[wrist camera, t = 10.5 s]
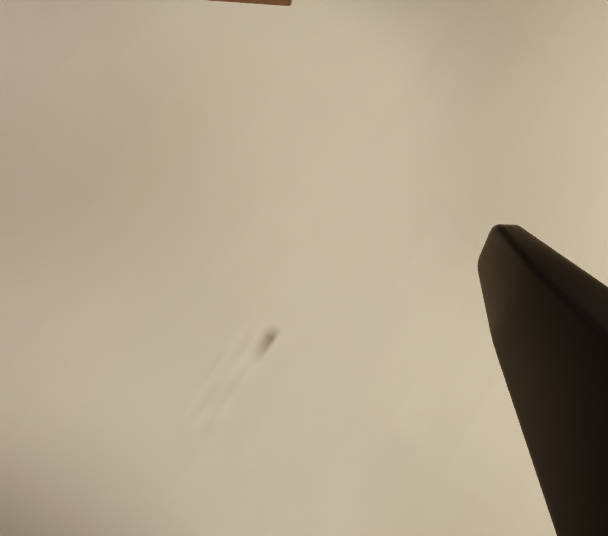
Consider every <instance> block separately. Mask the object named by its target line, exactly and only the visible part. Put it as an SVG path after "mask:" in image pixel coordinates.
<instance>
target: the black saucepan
mask: <svg viewBox="0 0 608 536" xmlns="http://www.w3.org/2000/svg"><path fill="white" fill-rule="evenodd" d="M210 1H225V2H239V3H254V4H268V5H283V6H290V5H291V3H292V0H210Z"/></svg>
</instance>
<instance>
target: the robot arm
mask: <svg viewBox="0 0 608 536" xmlns="http://www.w3.org/2000/svg"><path fill="white" fill-rule="evenodd" d="M478 273H479V278H480V283H481V288H482V293H483V298H484V303H485V308H486V312H487V317H488V322H489V327H490V332H491V336H492V340H493V344H494V347H495V350H496V353H497V357H498V360H499V363H500V366H501V369H502V372H503V375H504V378H505V381H506V384H507V387H508V390H509V393H510V396H511V399H512V402H513V405H514V408H515V411H516V414H517V417H518V420H519V423H520V426H521V429H522V432H523V435H524V438H525V441H526V444H527V447H528V450H529V453H530V456H531V459H532V462H533V465H534V468H535V471H536V474H537V477H538V480H539V483H540V486H541V489H542V492H543V495H544V498H545V501H546V504H547V507H548V510H549V513H550V516H551V519H552V522H553V525H554V528H555V531H556V534H557V536H608V287H607V286H606V285H604V284H603V283H601V282H600V281H598V280H597V279H595V278H594V277H592V276H591V275H590V274H588V273H587V272H585V271H584V270H582V269H581V268H579V267H578V266H577V265H575V264H574V263H572V262H571V261H569V260H568V259H566V258H565V257H563V256H562V255H561V254H559V253H558V252H556V251H555V250H553V249H552V248H550V247H549V246H548V245H546V244H545V243H543V242H542V241H540V240H539V239H537V238H536V237H535V236H533V235H532V234H530V233H529V232H527V231H526V230H524V229H523V228H521V227H520V226H518V225H503V224H498V225H495V226H494V227H493V228H492V229H491V231H490V233H489V235H488V238H487V240H486V242H485V245H484V247H483V249H482V252H481V254H480V257H479V260H478Z"/></svg>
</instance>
